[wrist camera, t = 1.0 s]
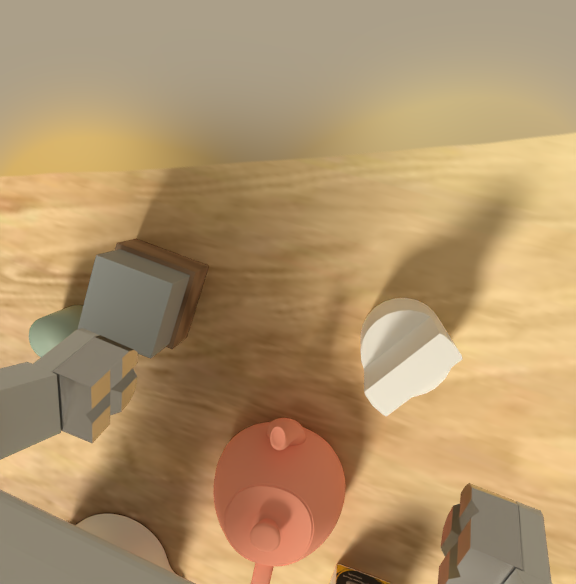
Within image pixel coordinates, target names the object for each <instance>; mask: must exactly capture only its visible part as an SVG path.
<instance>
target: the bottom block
mask: <svg viewBox="0 0 576 584" xmlns="http://www.w3.org/2000/svg"><path fill="white" fill-rule="evenodd" d="M119 249H121V250H124V251H126V252H129V253H132V254H134V255H137V256H140V257H142V258H145V259H148V260H151V261H153V262H156V263H159V264H161V265H164V266H167V267H169V268H172V269H175V270H177V271H180V272H183V273H185V274H188V275H190V277H189V281H188V284H187V287H186V291H185V294H184V297H183V300H182V304H181V307H180V310H179V314H178V317H177V320H176V324H175V327H174V330H173V333H172V337H171V340H170V343H169V344H168V345H167V346H166V347H168V348H170V349H173V348H174V347H176V346H177V345H178V344H179V343H180V342H181V341H183V340H184V339H185V338H186V337H187V335H188V332H189V328H190V325H191V322H192V319H193V316H194V312H195V309H196V306H197V303H198V300H199V296H200V293H201V290H202V287H203V283H204V280H205V277H206V274H207V271H208V267H209V266H208V265H206V264H203V263H200V262H198V261H195V260H192V259H190V258H187V257H184V256H181V255H179V254H176V253H173V252H171V251H168V250H165V249H163V248H160V247H157V246H155V245H152V244H149V243H146V242H144V241H141V240H138V239H133V240H128V241H123V242H119V243H117V244H116V248H115V250H119Z"/></svg>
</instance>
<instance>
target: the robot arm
mask: <svg viewBox="0 0 576 584" xmlns="http://www.w3.org/2000/svg"><path fill="white" fill-rule="evenodd" d="M137 363H138V352H137V351H135V350H134V349H132V348H129V347H127V346H125V345H122V344H120V343H118V342H115V341H113V340H111V339H108V338H106V337H104V336H101V335H98V334H96V333H93V332H91V331H89V330H86V329H84V328H82V329H78V330H76V331H74V332H73V333H72V334H71V335H69V336H68V337H67V338H65V339H64V340H63V341H62V342H60V343H59V344H58V345H56V346H55V347H54V348H53V349H51V350H50V351H49V352H47V353H46V354H45V355H44V356H42V357H41V358H40V359H38V360H37V361H36V362H35V363H33V364H31V363H29V362H25V363H21V364H17V365H13V366H9V367H5V368H1V369H0V460H1V459H3V458H5V457H7V456H9V455H12V454H14V453H16V452H18V451H21V450H23V449H25V448H27V447H30V446H32V445H34V444H36V443H39V442H41V441H43V440H45V439H48V438H50V437H52V436H54V435H57V434H59V433H61V431H64V432H66V433H69V434H71V435H73V436H76V437H78V438H81V439H83V440H86V441H88V442H91V443H93V442H94V441H95V440H96V439H97V438H98V437H99V436H100V435H101V433H102V432H103V431H104V430H105V429H106V428H107V427H108V426H109V425H110V415H113V414H116V413H119V412H121V411H122V410H123V409H124V408H125V407H126V406H127V405H128V403H129V402H130V400H131V398H132V396H133V394H134V392H135V388H136V385H137V375H136V373H135V372H134V370H133V367H134V366H135V365H136V364H137ZM441 549H442V551H443V553H444V555H445V558H444V560H443V562H442V563H441V565H440V566H439V575H438V584H552V583H551V575H550V567H549V558H548V550H547V542H546V534H545V526H544V517H543V514H542V513H541V511H540V510H537V509H535V508H532V507H530V506H527V505H524V504H522V503H519V502H517V501H516V502H515V501H514V500H512V499H509V498H506V497H504V496H501V495H499V494H496V493H494V492H491V491H488V490H486V489H483V488H481V487H478V486H476V485H473V484H470V483H469V484H467V485H466V486H465V487H464V489H463V491H462V492H461V497H460V504H457V505H454V506H453V507H452V509H451V511H450V512H449V514H448V516H447V519H446V522H445V525H444V528H443V533H442V540H441ZM0 584H195V583H193V582H191V581H189V580H187V579H185V578H183V577H181V576H179V575H177V574H175V572H174V571H173V570H172V569H171V567H170V565H169V562H168V559H167V556H166V553H165V551H164V549H163V547H162V545H161V544H160V542H159V541H158V539H157V538H156V537H155V536H154V535H153V533H151V532H150V531H149V530H148V529H147V528H146V527H145V526H143V525H142V524H140V523H138V522H137V521H135V520H133V519H130V518H128V517H125V516H122V515H117V514H98V515H94V516H91V517H88V518H86V519H84V520H82V521H81V522H79V523H78V524H76V525H73V524H71V523H69V522H67V521H65V520H62V519H60V518H58V517H56V516H54V515H52V514H50V513H48V512H46V511H44V510H42V509H40V508H38V507H35V506H33V505H31V504H29V503H27V502H25V501H23V500H21V499H19V498H17V497H15V496H13V495H11V494H8V493H6V492H4V491H2V490H0Z"/></svg>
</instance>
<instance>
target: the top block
mask: <svg viewBox="0 0 576 584" xmlns="http://www.w3.org/2000/svg"><path fill="white" fill-rule="evenodd" d="M189 277H190V275H188V274H185V273H183V272H180V271H177V270H175V269H172V268H169V267H167V266H164V265H161V264H159V263H156V262H153V261H151V260H148V259H145V258H142V257H140V256H137V255H134V254H132V253H129V252H126V251H124V250H121V249H119V250H115V251H111V252H107V253H103V254H98V255H96V258H95V262H94V266H93V270H92V274H91V278H90V282H89V286H88V290H87V293H86V297H85V301H84V305H83V309H82V313H81V317H80V321H79V325H78V329H82V328H84V329H86V330H89V331H91V332H93V333H96V334H98V335H101V336H104V337H106V338H108V339H111V340H113V341H115V342H118V343H120V344H122V345H125V346H127V347H129V348H132V349H134V350H135V351H137V352H138V354H141V355H143V356H146V357H148V358H152V357H153V356H155V355H156V354H157V353H158V352H160V351H161V350H162V349H163V348H165V347H166V346H167V345H168V344H169V343H170V340H171V337H172V333H173V330H174V327H175V324H176V320H177V317H178V314H179V310H180V307H181V304H182V300H183V297H184V294H185V291H186V287H187V284H188V281H189ZM78 329H77V330H78Z"/></svg>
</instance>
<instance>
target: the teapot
mask: <svg viewBox="0 0 576 584" xmlns="http://www.w3.org/2000/svg"><path fill="white" fill-rule="evenodd" d="M344 497H345V477H344V471H343V468H342V465H341V463H340V460H339V458H338V456H337V455H336V453H335V452H334V450H333V449H332V447H331V446H330V445H329V444H328V443H327V442H326V441H325V440H324V439H323V438H322V437H320V436H319V435H317V434H316V433H314V432H312V431H310V430H308V429H306V428H304V427H302V426H301V425H300V423H298V422H297V421H295V420H293V419H289V418H278V419H275V420H273V421H272V422H264V423H259V424H255V425H252V426H250V427H248V428H246V429H244V430H242V431H240V432H239V433H238V434H237V435H235V436H234V437H233V438H232V439H231V440H230V442H229V443H228V444H227V446H226V447H225V449H224V451H223V453H222V455H221V457H220V459H219V462H218V465H217V468H216V473H215V479H214V504H215V509H216V514H217V517H218V520H219V523H220V526H221V528H222V530H223V532H224V534H225V536H226V538H227V540H228V541H229V543H230V544H231V546H232V547H233V548H234V549H235V550H236V551H237V552H238V553H239V554H240V555H241V556H243V557H244V558H246V559H248V560H250V561H253V562H255V568H254V572H253V577H252V581H251V584H270V579H271V575H272V571H273V566H285V565H289V564H292V563H295V562H297V561H299V560H301V559H303V558H305V557H306V556H308V555H309V554H311V553H312V552H314V551H315V550H316V549H317V548H318V547H319V546H320V545H322V544H323V542H324V541H325V540H326V539H327V537H328V536H329V535H330V534H331V532H332V530H333V529H334V527H335V525H336V523H337V521H338V519H339V516H340V514H341V511H342V507H343V503H344Z"/></svg>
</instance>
